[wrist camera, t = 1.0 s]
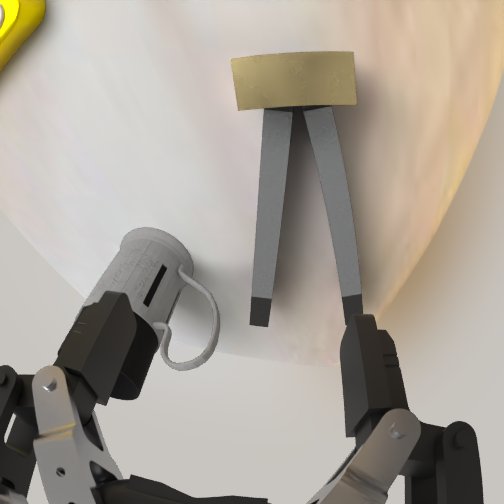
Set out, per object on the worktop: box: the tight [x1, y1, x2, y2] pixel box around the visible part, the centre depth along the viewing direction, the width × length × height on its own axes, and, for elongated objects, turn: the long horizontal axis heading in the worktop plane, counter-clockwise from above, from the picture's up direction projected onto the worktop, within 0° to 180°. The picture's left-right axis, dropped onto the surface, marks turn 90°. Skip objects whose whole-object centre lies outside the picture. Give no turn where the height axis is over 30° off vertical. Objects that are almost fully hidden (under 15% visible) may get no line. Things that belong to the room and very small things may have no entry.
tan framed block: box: [231, 52, 357, 111], centre depth 17 cm, size 3×6×7 cm, turn 97°
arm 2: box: [302, 105, 363, 325], centre depth 24 cm, size 20×2×4 cm, turn 17°
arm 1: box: [250, 106, 293, 327], centre depth 25 cm, size 20×2×4 cm, turn 177°
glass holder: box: [58, 227, 220, 400], centre depth 26 cm, size 9×14×15 cm, turn 106°
